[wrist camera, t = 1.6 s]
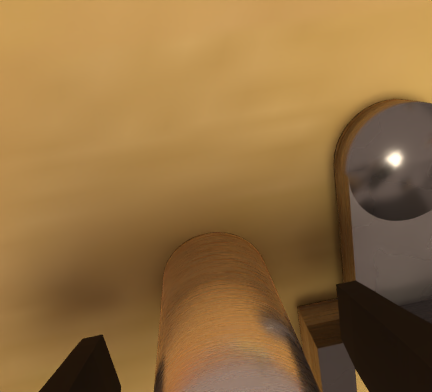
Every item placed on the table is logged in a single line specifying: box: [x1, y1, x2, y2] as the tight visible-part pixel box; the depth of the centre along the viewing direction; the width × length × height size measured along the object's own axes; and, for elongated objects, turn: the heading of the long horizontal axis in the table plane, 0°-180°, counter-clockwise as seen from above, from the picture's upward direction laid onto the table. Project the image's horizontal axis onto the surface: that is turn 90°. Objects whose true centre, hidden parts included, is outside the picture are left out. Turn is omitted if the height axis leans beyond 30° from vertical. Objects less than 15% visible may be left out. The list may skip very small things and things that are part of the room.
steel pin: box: [154, 232, 320, 392], centre depth 10 cm, size 4×4×9 cm
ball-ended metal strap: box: [297, 99, 432, 392], centre depth 15 cm, size 23×8×2 cm, turn 11°
